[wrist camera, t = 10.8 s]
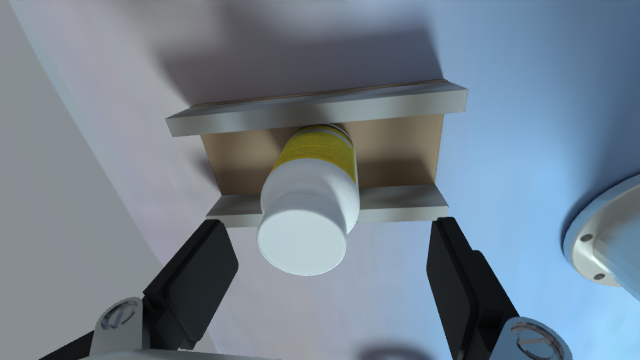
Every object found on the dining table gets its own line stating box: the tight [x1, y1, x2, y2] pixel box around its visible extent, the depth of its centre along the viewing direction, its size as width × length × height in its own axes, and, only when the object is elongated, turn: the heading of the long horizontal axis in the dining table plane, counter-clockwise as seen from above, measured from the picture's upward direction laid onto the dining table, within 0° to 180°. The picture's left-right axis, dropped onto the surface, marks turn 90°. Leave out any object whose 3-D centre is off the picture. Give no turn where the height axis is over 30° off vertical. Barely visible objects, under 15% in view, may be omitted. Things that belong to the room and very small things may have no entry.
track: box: [165, 79, 469, 228], centre depth 18 cm, size 18×9×4 cm, turn 96°
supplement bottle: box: [257, 123, 360, 276], centre depth 15 cm, size 5×5×10 cm
